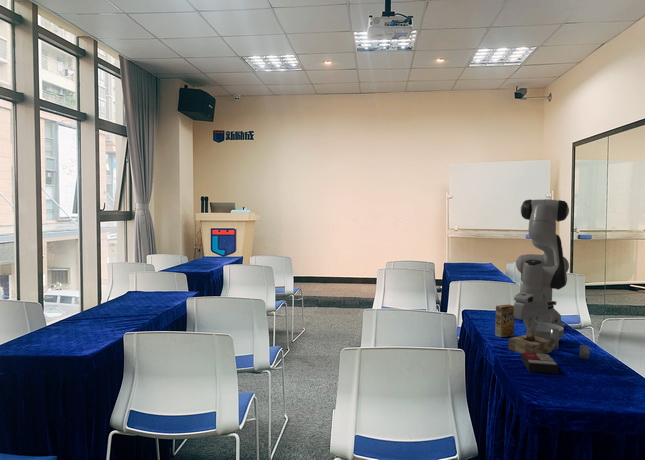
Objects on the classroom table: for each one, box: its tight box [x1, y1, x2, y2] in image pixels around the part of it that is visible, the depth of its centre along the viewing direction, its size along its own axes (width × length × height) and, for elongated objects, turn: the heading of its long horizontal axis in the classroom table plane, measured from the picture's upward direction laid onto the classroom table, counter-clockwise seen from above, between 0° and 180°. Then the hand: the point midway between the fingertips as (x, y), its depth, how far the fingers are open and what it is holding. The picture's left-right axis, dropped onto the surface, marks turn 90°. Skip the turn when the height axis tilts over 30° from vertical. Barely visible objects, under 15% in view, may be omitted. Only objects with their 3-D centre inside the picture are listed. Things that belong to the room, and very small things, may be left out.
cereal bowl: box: [525, 322, 565, 340], centre depth 225 cm, size 17×17×7 cm
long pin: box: [525, 313, 536, 342], centre depth 209 cm, size 4×4×14 cm
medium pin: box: [550, 328, 560, 351], centre depth 213 cm, size 4×4×9 cm
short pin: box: [579, 344, 591, 360], centre depth 201 cm, size 4×4×5 cm
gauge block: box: [507, 334, 553, 355], centre depth 210 cm, size 14×12×5 cm
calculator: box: [520, 352, 560, 375], centre depth 190 cm, size 11×4×15 cm
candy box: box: [494, 304, 516, 338], centre depth 233 cm, size 9×4×15 cm, turn 113°
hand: (530, 326), depth 209 cm, fingers closed on long pin, 4 cm apart
